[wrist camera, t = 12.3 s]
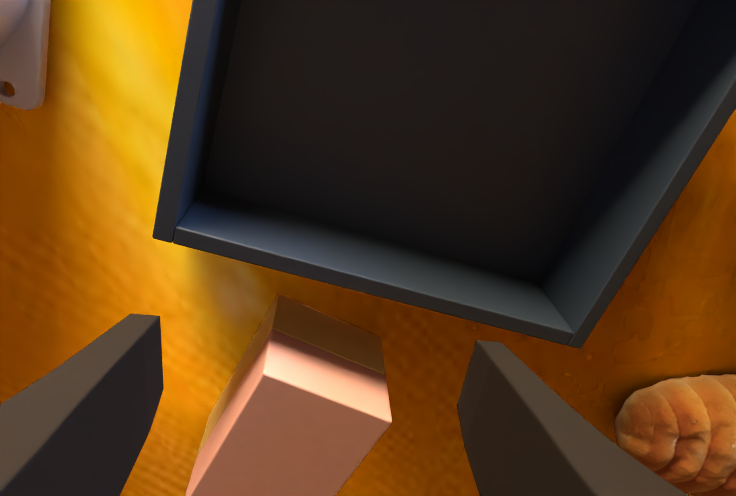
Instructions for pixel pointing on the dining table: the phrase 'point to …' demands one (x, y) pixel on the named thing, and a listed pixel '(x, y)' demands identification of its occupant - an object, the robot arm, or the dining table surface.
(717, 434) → the pastry
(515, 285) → the storage box
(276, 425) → the pink rectangular block
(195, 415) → the dining table surface
